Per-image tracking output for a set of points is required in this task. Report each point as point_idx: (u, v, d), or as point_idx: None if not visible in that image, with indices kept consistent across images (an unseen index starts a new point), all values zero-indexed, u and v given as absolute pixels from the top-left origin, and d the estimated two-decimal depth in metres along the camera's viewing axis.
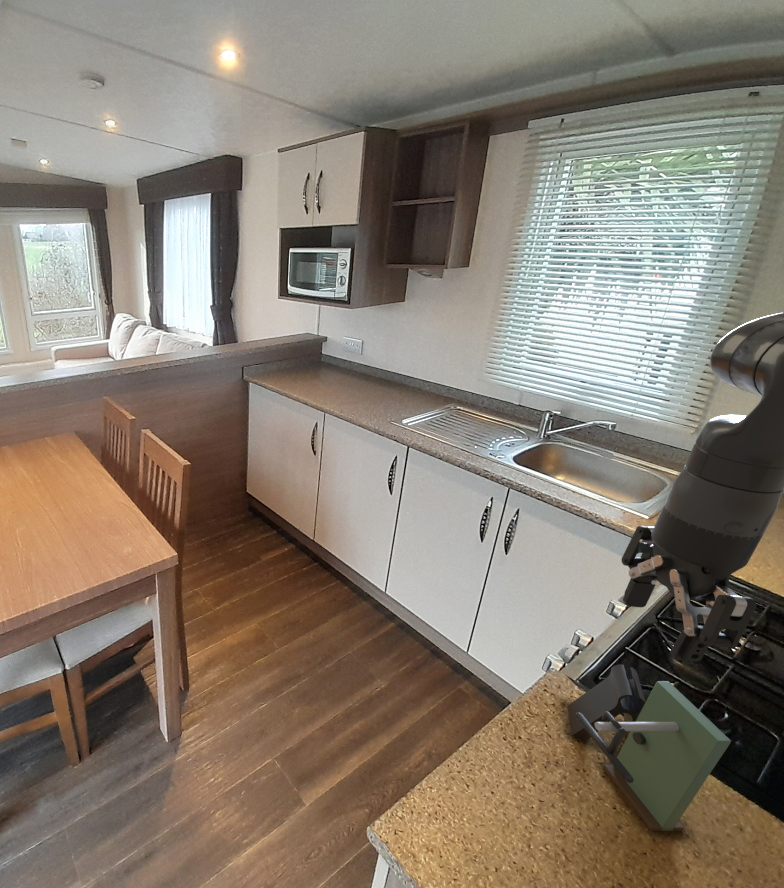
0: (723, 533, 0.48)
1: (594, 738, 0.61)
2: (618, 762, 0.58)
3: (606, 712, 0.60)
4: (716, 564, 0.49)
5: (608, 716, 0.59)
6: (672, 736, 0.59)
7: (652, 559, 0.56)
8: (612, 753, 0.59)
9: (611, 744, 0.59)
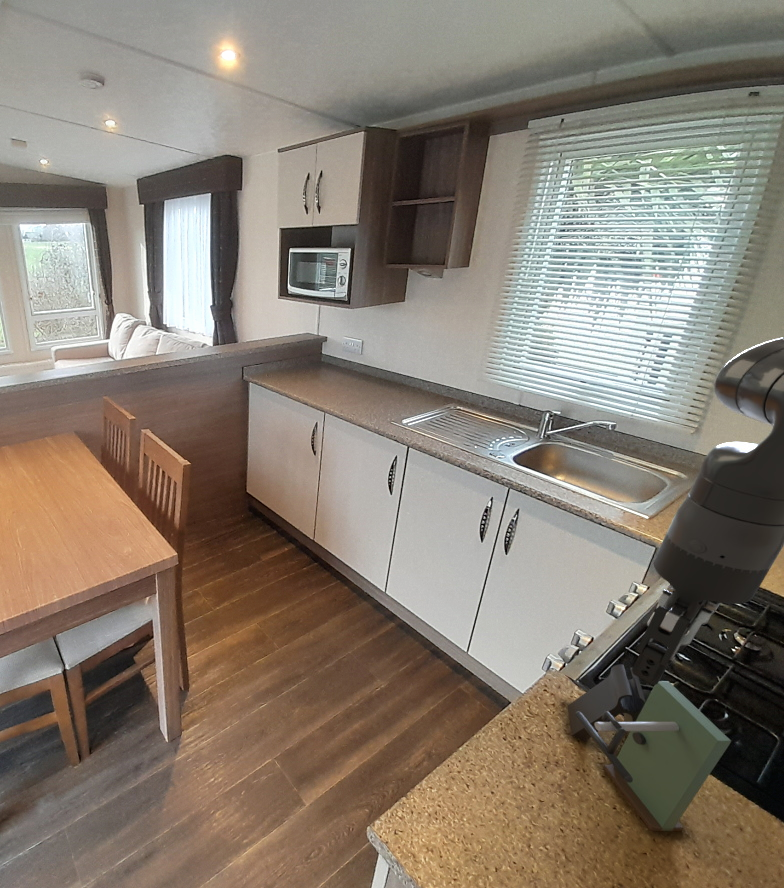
0: (687, 551, 0.48)
1: (594, 737, 0.61)
2: (617, 762, 0.58)
3: (606, 712, 0.60)
4: (679, 583, 0.49)
5: (608, 716, 0.59)
6: (672, 736, 0.59)
7: None
8: (611, 753, 0.59)
9: (611, 744, 0.59)
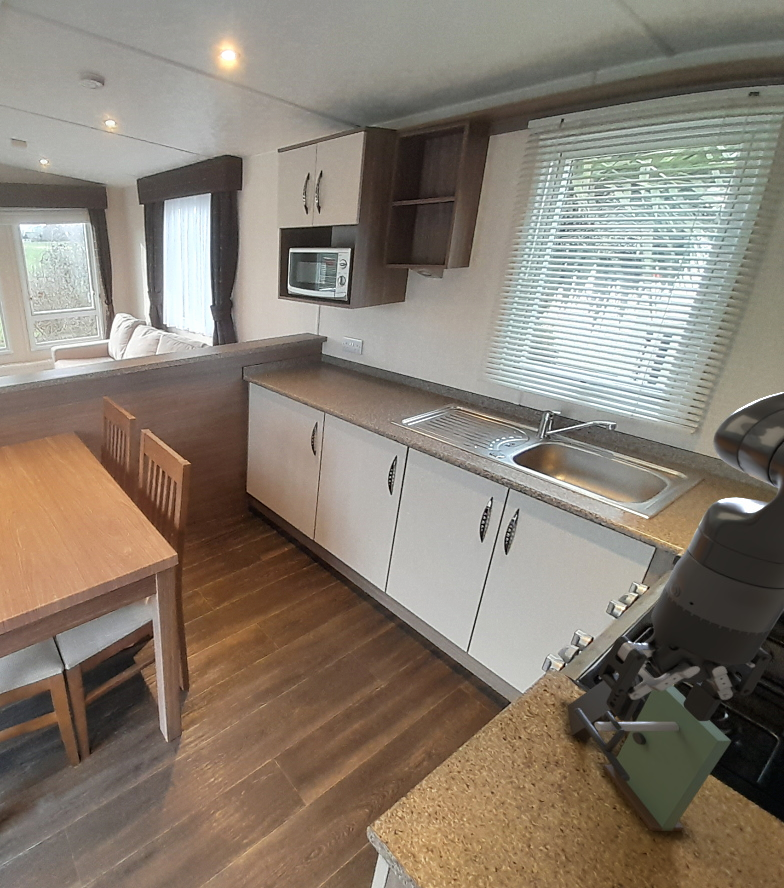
0: (668, 593, 0.48)
1: (592, 735, 0.62)
2: (615, 760, 0.59)
3: (607, 712, 0.60)
4: (657, 625, 0.49)
5: (608, 716, 0.59)
6: (672, 736, 0.59)
7: None
8: (610, 751, 0.59)
9: (609, 743, 0.59)
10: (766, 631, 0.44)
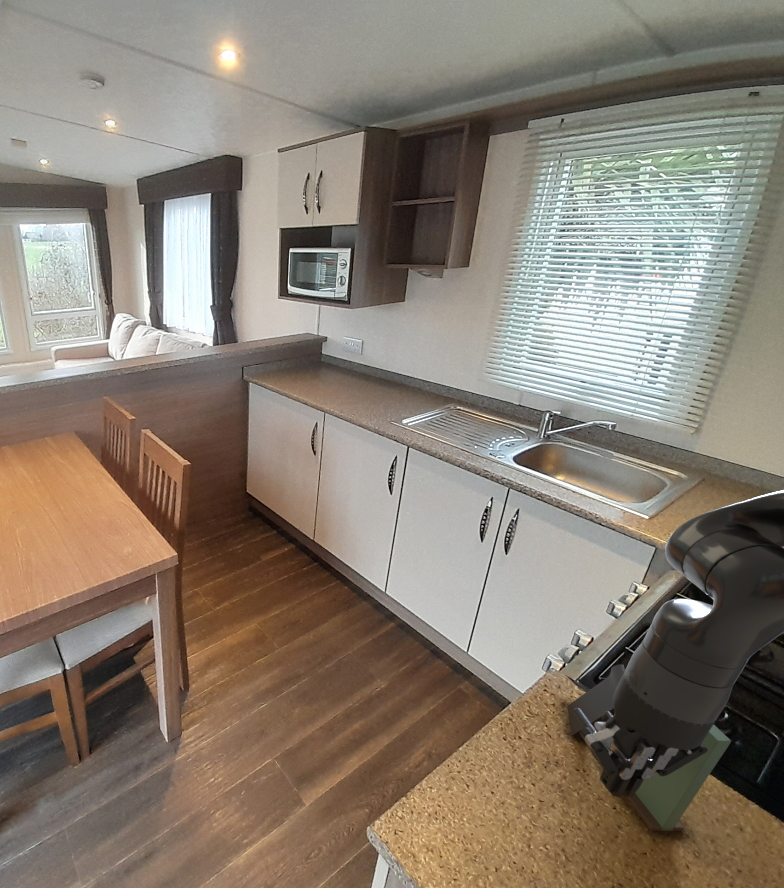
0: (626, 680, 0.53)
1: None
2: None
3: (607, 712, 0.60)
4: (617, 707, 0.54)
5: (608, 716, 0.59)
6: None
7: None
8: None
9: None
10: (711, 722, 0.49)
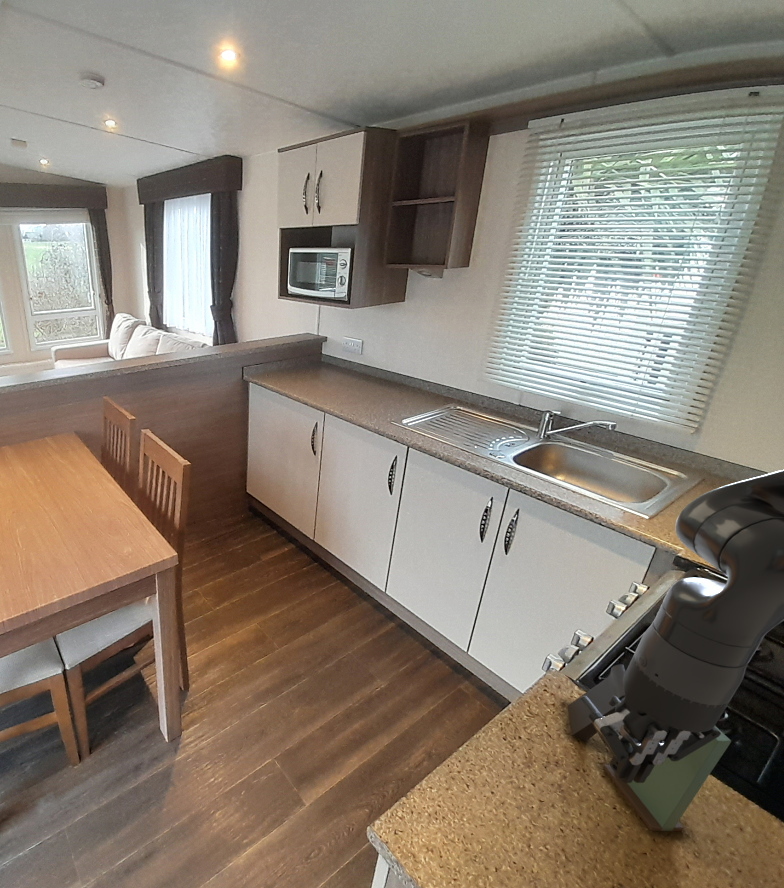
0: (636, 662, 0.52)
1: None
2: None
3: (614, 697, 0.59)
4: (627, 690, 0.53)
5: (616, 701, 0.58)
6: None
7: None
8: None
9: None
10: (724, 703, 0.47)
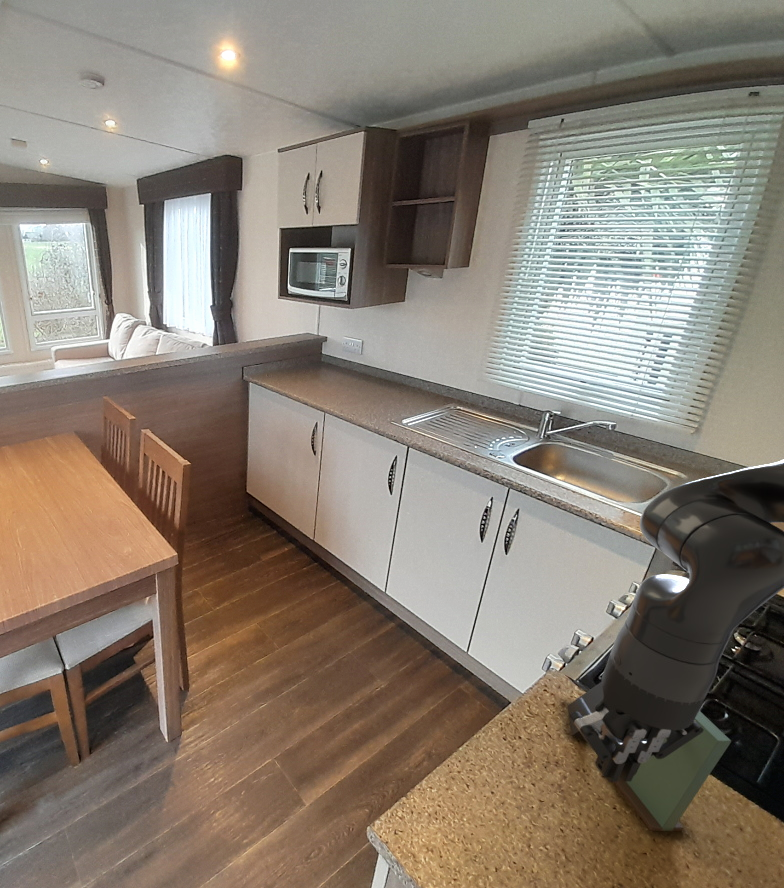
0: (612, 661, 0.52)
1: None
2: None
3: None
4: (605, 689, 0.53)
5: None
6: None
7: None
8: None
9: None
10: (699, 701, 0.47)
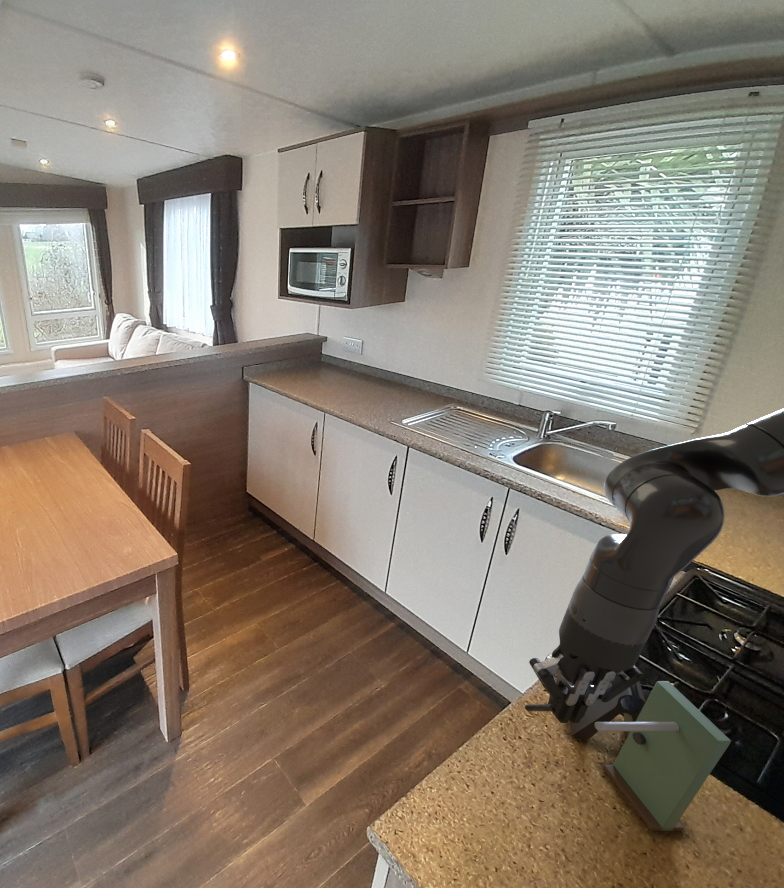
0: (569, 611, 0.58)
1: (538, 705, 0.68)
2: None
3: None
4: (562, 637, 0.59)
5: None
6: (672, 736, 0.59)
7: None
8: None
9: None
10: (640, 643, 0.54)
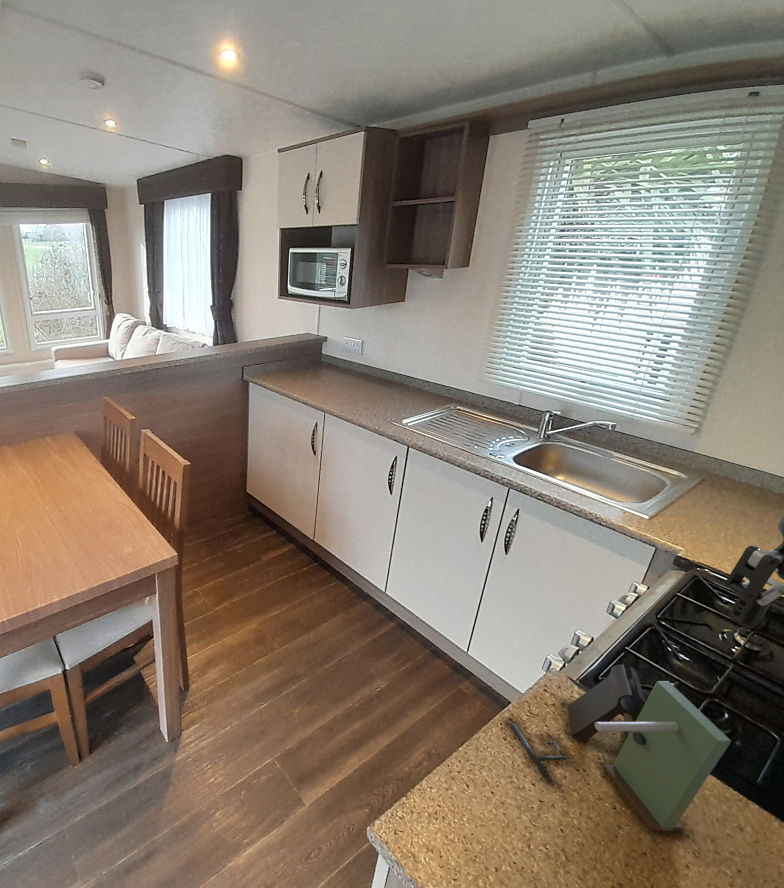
0: None
1: (527, 744, 0.71)
2: (543, 767, 0.69)
3: None
4: None
5: None
6: (672, 736, 0.59)
7: None
8: None
9: (547, 757, 0.70)
10: None
